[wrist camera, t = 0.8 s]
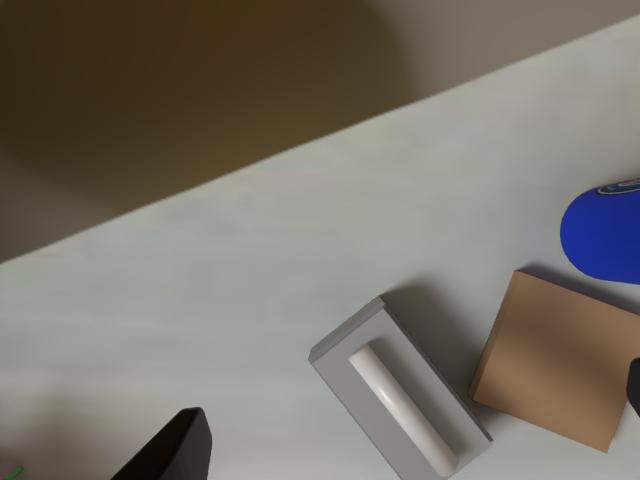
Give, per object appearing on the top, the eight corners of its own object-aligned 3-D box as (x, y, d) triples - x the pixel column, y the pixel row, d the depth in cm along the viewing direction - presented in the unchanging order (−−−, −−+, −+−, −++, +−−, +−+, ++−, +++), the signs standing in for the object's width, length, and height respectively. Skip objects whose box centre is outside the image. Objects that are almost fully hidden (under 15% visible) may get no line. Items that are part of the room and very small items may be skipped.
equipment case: (477, 419, 23) (508, 458, 19) (408, 472, 23) (423, 522, 19) (378, 295, 23) (386, 306, 19) (311, 348, 24) (304, 370, 19)
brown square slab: (595, 444, 22) (606, 453, 22) (467, 393, 23) (473, 400, 22) (643, 319, 22) (657, 322, 21) (514, 270, 23) (522, 272, 22)
